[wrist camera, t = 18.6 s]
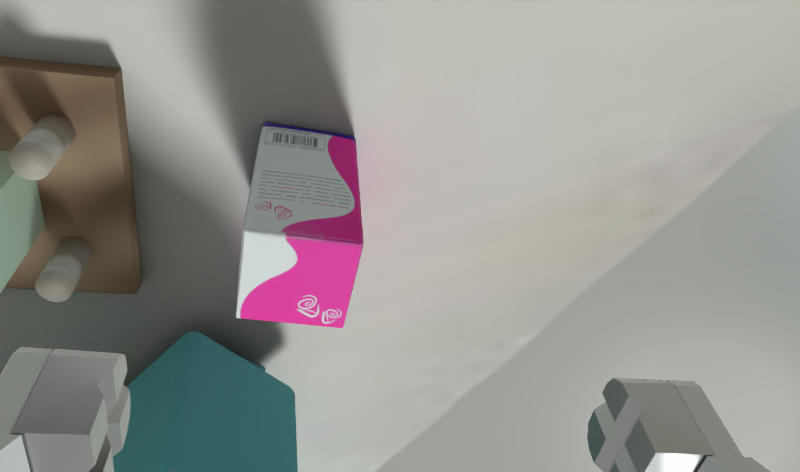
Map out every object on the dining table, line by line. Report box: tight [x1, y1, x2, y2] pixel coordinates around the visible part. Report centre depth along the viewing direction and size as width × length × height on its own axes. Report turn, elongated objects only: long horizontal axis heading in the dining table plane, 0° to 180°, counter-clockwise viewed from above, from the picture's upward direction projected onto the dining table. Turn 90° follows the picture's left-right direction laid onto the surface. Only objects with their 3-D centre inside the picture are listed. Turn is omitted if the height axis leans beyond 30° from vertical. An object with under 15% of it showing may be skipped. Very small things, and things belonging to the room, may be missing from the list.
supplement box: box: [236, 122, 363, 328], centre depth 37 cm, size 6×6×12 cm
